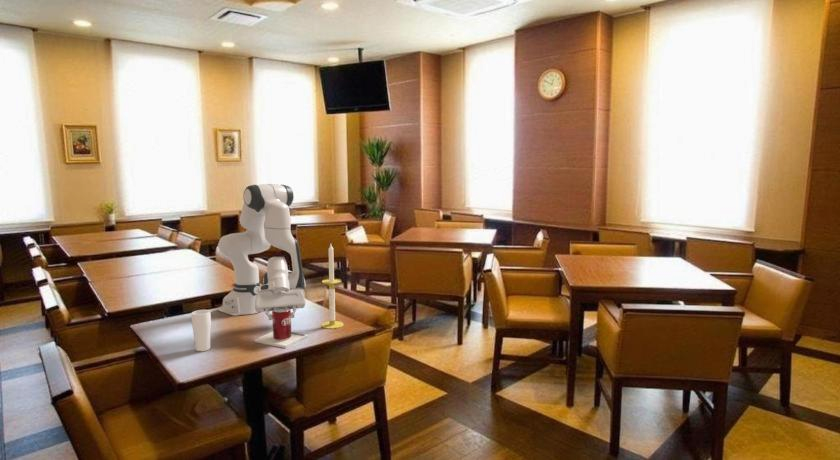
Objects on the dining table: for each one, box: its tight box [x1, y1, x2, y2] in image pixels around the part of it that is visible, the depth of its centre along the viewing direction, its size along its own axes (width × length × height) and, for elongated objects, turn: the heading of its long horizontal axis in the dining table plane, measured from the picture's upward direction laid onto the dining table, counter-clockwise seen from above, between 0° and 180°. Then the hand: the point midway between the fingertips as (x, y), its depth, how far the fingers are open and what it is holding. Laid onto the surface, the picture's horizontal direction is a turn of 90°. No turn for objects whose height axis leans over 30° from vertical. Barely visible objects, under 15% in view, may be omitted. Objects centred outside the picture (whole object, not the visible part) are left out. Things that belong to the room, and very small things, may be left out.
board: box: [254, 331, 309, 349], centre depth 200 cm, size 16×14×1 cm
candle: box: [320, 243, 345, 330], centre depth 216 cm, size 10×10×38 cm
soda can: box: [271, 307, 292, 341], centre depth 198 cm, size 7×7×12 cm
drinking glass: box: [191, 309, 212, 352], centre depth 188 cm, size 7×7×15 cm
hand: (281, 318), depth 198 cm, fingers open, 7 cm apart
